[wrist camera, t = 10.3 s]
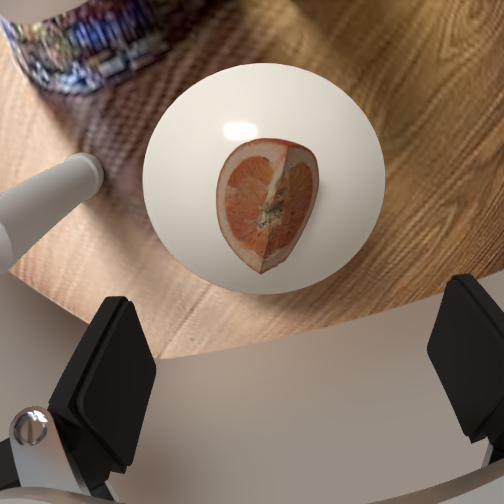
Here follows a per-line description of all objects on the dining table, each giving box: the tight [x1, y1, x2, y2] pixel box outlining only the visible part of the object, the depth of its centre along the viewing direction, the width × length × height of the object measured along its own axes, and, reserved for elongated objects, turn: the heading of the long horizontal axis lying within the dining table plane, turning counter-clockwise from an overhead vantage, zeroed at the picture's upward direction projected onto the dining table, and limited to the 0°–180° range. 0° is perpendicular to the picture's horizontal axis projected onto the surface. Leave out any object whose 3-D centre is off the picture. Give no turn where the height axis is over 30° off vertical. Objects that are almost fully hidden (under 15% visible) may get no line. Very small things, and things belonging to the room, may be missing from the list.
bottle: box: [0, 153, 104, 274], centre depth 20 cm, size 5×5×25 cm
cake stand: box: [143, 63, 385, 294], centre depth 27 cm, size 18×18×9 cm
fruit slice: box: [216, 138, 319, 275], centre depth 21 cm, size 8×7×5 cm
